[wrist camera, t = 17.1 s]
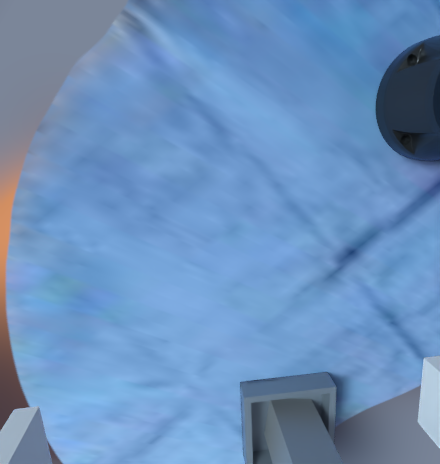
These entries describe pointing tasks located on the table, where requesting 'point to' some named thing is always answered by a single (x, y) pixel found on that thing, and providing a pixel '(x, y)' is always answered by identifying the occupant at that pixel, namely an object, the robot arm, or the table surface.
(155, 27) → the table surface
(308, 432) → the perfume bottle
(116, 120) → the table surface
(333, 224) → the table surface
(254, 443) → the tray
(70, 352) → the table surface
